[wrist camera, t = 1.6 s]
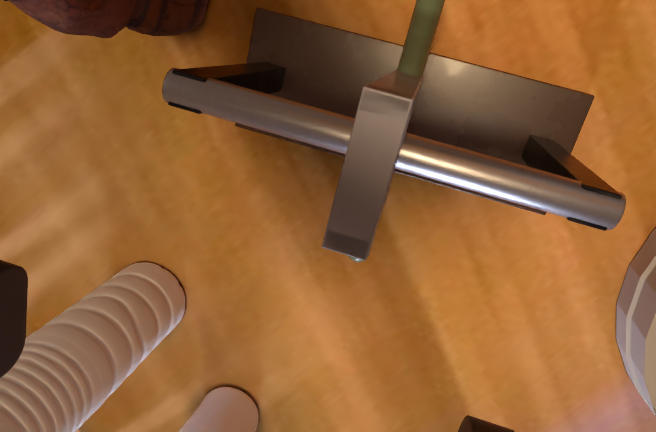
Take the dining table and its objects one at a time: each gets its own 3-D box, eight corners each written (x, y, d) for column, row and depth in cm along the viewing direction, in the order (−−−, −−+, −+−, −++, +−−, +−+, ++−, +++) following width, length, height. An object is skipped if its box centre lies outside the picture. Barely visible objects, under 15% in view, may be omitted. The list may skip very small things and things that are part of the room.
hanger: (420, -17, 27) (405, -75, 15) (449, -10, 27) (461, -62, 14) (344, 252, 33) (285, 384, 20) (369, 260, 33) (325, 398, 20)
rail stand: (263, 8, 36) (152, -16, 22) (588, 93, 33) (695, 127, 19) (242, 123, 38) (131, 166, 24) (541, 209, 36) (605, 310, 22)
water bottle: (145, 245, 43) (-200, 480, 20) (202, 300, 44) (-69, 592, 20) (89, 306, 46) (-268, 571, 23) (142, 356, 47) (-152, 666, 23)
